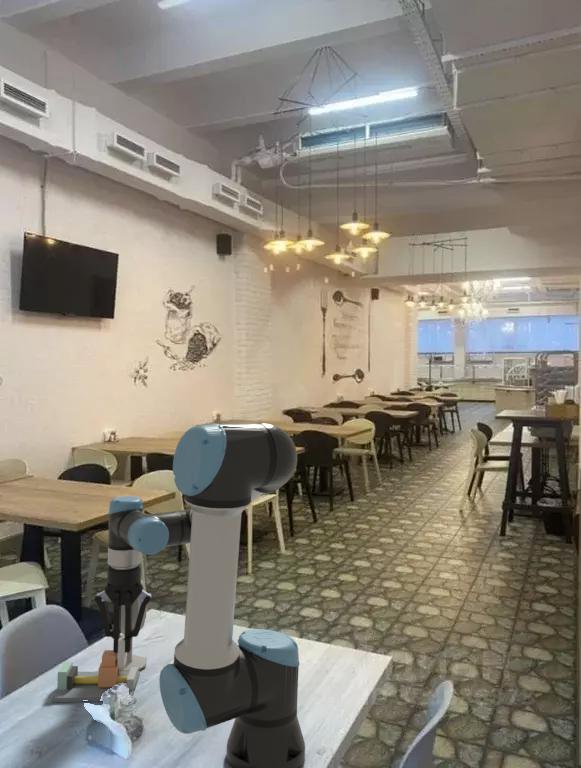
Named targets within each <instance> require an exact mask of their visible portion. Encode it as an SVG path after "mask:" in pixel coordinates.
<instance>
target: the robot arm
mask: <svg viewBox="0 0 581 768" xmlns="http://www.w3.org/2000/svg"><path fill="white" fill-rule="evenodd" d="M297 464H298V452H297V448H296V445H295V443H294V440H293V439H292V437H290V435H289V434H288V433H287V432H286V431H284V429H282V428H280V427H279V426H277V425H274V424H271V423H267V422H266V423H265V422H256V423H210V424H202V425H196V426H192V427H190V428H189V429H187V430H186V431H185V432H184V433H183V435H182V436H181V437H180V439H179V441H178V443H177V445H176V447H175V451H174V456H173V461H172V473H173V474H172V475H173V476H174V485H175V487H176V489H177V491H179V492H180V493H181V494H183V495H184V497H183V499H184V502H185V503H186V505H188V507H189V508H188V509H183V510H182V509H181V510H174V511H168V512H167V511H166V512H158V513H157V512H155V513H145V512H143V511H144V504H143V500H142V499H141V498H140V497H138V496H130V495H128V496H127V495H126V496H117V497H114V498H112V499H111V500H110V502H109V509H108V514H107V516H108V535H107V536H108V538H107V539H108V541H107V542H108V544H107V564H108V566H107V577H106V578H107V579H106V582H107V583H106V586H105V588H104V590H103V591H101V592H100V591H99V592H97V593H96V595H95V597H94V601H95V602H96V604H97V605H98V608H99V613H100V617H101V621H102V626H103V630H104V631H103V632H104V635H105V637H106V638H109V637H110V638H112V639H113V646H112V647H113V649H112V650H113V651H114V653H118V668H124V667H125V665H126V656H127V653H129V652H130V649H131V638H132V639H133V638H134V637H135V638H137V637H138V636H139V633H140V628H141V624H142V620H143V617H144V613H145V609H146V610H147V605H148V604H149V603H150V601H151V599H152V597H153V593H152V592H147V591H146V590H145V591H144V590H143V587H142V585H141V580H142V565H141V563H142V554H145V555H148V556H149V555H150V556H151V555H155V554H158V553H159V552H161V551H162V550H164V549H165V548H167V547H173V546H180V545H185V544H190V545H189V557H188V571H187V572H188V574H187V585H186V586H187V587H186V588H187V589H186V601H185V603H186V604H185V615H184V616H185V619H184V633H183V639H181V640H180V641H179V642H178V643H177V644H176V646H175V647H174V654H173V663H167V664H166V665H165V666H163V668H162V669H161V670H160V673H159V691H160V697H161V699H162V700H161V701H162V704H163V707H164V710H165V712H166V716H167V717H168V719H169V721H170V723H171V725H172V726H173V727H174V728H175V729H176V730H177V731H178V732H180V733H182V734H185V735H189V734H192V733H195V732H199V731H203V732H204V731H206V730H207V729H209V728H212V727H214V726H217V725H221V724H223V723H225V722H229V721H231V720H234V722H233V724H232V726H231V730H230V733H229V736H228V739H227V742H226V758H225V759H226V761H227V763H228V766H229V767H230V766H231V767H232V768H301V767H302V766H303V765H304V764H305V763H304V762H305V759H306V758H305V757H306V744H305V743H306V742H305V740H304V735H303V731H302V729H301V728H302V727H301V726H300V725H301V724H300V722H299V719H298V693H299V691H298V688H299V687H298V686H299V666H300V659H299V655H300V654H299V646H298V644H297V642H296V641H295V640H294V639H293V638H292V637H291V636H289V635H288V634H285V633H282V632H280V631H276V630H272V629H266V628H265V629H264V628H255V629H254V628H253V629H248V630H245V631H243V632H241V633H240V635H239V636H238V639H237V642H236V641H234V639H233V636H234V635H233V634H234V621H235V619H234V618H235V609H236V608H235V606H236V596H237V595H236V593H237V581H238V579H237V578H238V566H239V551H240V540H241V539H240V538H241V526H242V524H241V523H242V513H243V511H245V510H246V509H247V508H248V507H249V506H250V505H251V504H252V503H253V502H254V501H256V500H257V499H258V498H260V497H261V496H262V495H265V494H266V495H267V494H272V493H275V492H277V491H278V490H279V489H280V488H281V487H283V486H284V485H285V484H286V483H288V481H289V480H290V479H291V478H292V477H293V475H294V473H295V471H296V469H297ZM139 595H141V599H140V600H141V601H142V604H141V606H140V609H139V613H138V617H137V620H136V624H135V628H134V629H133V630H132V609H133V603H134V602H135V600H136V599H137V598H138V597H139ZM108 598H109V601H111V603H112V604H113V623H112V619H111V616H110V610H109V605H108V602H107V599H108ZM122 605H124V606H125V635H123V634H122V633H121V606H122ZM231 767H230V768H231Z"/></svg>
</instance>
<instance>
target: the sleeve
mask: <svg viewBox="0 0 581 768" xmlns="http://www.w3.org/2000/svg"><path fill="white" fill-rule="evenodd" d="M98 672H99V676H98V687H113V686H114V685H116V684H117V676H120V668H118V653H114V651H113V649H107V650H106V649H105V650H103V653H102V656H101V663H100V664H99V667H98Z"/></svg>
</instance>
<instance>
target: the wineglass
mask: <svg viewBox="0 0 581 768" xmlns="http://www.w3.org/2000/svg"><path fill="white" fill-rule="evenodd" d="M141 585H142V587H143V590H144V591H145V592H146V587H145V583H144V580H143V579H141ZM140 599H141V595H139V597H138V598H137V599H136V600H135V602H134V603H133V609H132V630H133V629H134V628H135V624H136V620H137V617H138V613H139V609H140V606H141V604H142V601H141V600H140ZM146 618H147V608H146V609H145V613H144V617H143V620H142V624H141V628H140V630H142V629H143V628H144V626H145V623H146ZM121 635H125V606H124V605H122V606H121ZM131 667H138V671H140V672H141V670H143V669H144V668H146V667H147V657H145V656H141V655H136V654H133V637H132V638H131V649H130V652H129V653H126V665H125V667H124V668H120V671H130V669H131Z"/></svg>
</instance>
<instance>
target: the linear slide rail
mask: <svg viewBox="0 0 581 768" xmlns="http://www.w3.org/2000/svg"><path fill="white" fill-rule="evenodd" d="M73 664H74V663H73V661H63V663H62V664H61V666H60V668H59V670H58V671H57V688H56V689H57V690H56V691H55V693H54V695H53V697H52V703H82V702H81V701H83V700H88V701H92V702H93V703H95V702H98V701H100V699H101V696H102V694H103V693H104V692H105V691H107V690H108V689H110V688H112V687H98V676H99V671H79V665H78V666H77V665H73ZM140 672H141V670H140V671H138V667H131V669H130V671H120V676H117V684H118V683H122V682H123V683H126V684H127V686H128V688H129V695H131V696H133V697H134V693H135V691H136V688H137V685H138V681H139V678H140V674H141V673H140Z"/></svg>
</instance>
